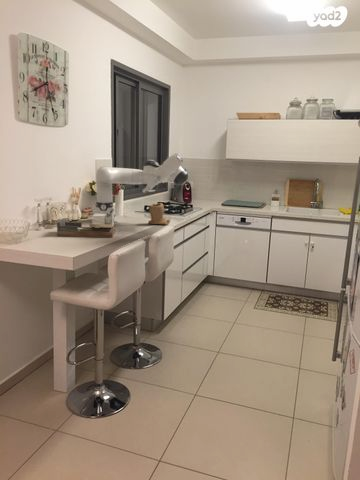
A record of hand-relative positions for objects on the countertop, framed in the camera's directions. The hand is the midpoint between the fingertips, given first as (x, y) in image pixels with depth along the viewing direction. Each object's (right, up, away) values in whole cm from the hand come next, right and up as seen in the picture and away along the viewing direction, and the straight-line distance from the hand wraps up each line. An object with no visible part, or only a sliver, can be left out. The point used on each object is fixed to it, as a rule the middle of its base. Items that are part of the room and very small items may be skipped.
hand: (143, 191), depth 244 cm
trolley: (-25, -22, +4) cm, 33 cm away
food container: (-27, -22, +22) cm, 41 cm away
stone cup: (+7, -18, +48) cm, 52 cm away
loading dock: (-34, -25, +4) cm, 43 cm away
